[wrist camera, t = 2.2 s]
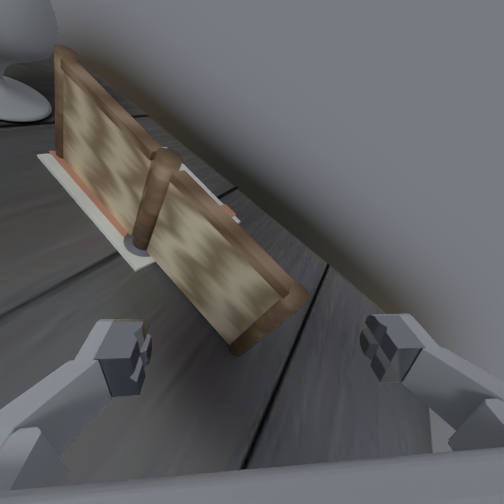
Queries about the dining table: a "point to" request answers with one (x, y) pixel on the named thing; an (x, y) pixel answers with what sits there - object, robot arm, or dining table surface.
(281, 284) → the fence panel
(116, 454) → the dining table surface
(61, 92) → the fence fixed
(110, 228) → the card
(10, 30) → the chalice
